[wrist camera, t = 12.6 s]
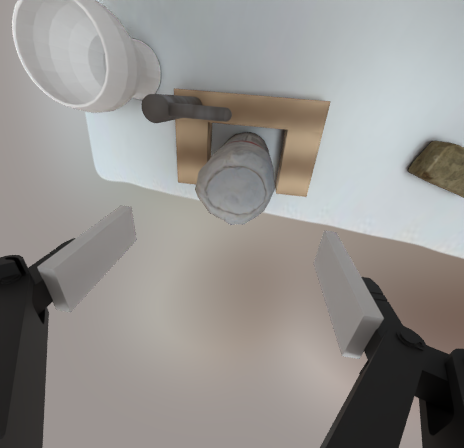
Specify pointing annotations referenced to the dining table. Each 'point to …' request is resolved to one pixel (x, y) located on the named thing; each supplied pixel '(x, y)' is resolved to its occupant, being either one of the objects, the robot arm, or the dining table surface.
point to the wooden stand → (247, 114)
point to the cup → (82, 54)
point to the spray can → (237, 179)
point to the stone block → (441, 166)
